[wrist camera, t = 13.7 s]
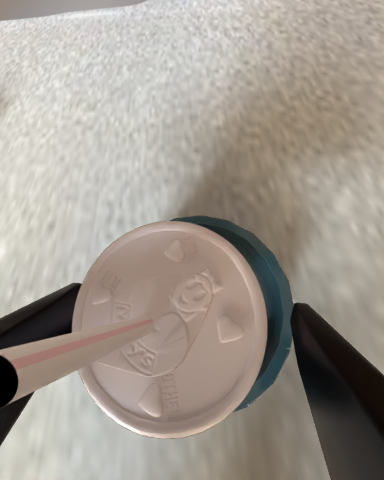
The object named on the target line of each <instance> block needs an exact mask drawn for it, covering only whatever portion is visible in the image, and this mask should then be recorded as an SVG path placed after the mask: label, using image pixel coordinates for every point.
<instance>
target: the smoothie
mask: <svg viewBox="0 0 384 480" xmlns="http://www.w3.org/2000/svg"><path fill="white" fill-rule="evenodd" d="M266 341H267V314H266V307H265V302H264V298H263V294H262V291H261V288H260V285H259V283H258V280H257V278H256V276H255V274H254V272H253V271H252V269H251V267H250V266H249V264H248V263H247V261H246V260H245V258H244V257H243V256H242V255H241V254H240V252H239V251H238V250H237V249H236V248H235V247H234V246H233V245H232V244H231V243H229V242H228V241H227V240H226V239H224V238H223V237H221V236H220V235H218V234H217V233H215V232H213V231H211V230H209V229H207V228H204V227H202V226H199V225H196V224H192V223H187V222H179V221H164V222H156V223H151V224H147V225H144V226H141V227H139V228H136V229H134V230H132V231H130V232H128V233H126V234H124V235H123V236H121V237H120V238H118V239H117V240H116V241H114V242H113V243H112V244H111V245H110V246H109V247H107V248H106V249H105V250H104V251H103V253H102V254H101V255H100V256H99V257H98V258H97V260H96V261H95V262H94V264H93V265H92V267H91V268H90V270H89V271H88V273H87V275H86V277H85V278H84V281H83V283H82V285H81V287H80V290H79V293H78V296H77V299H76V303H75V308H74V313H73V321H72V333H70V334H65V335H61V336H57V337H53V338H48V339H44V340H40V341H36V342H31V343H27V344H23V345H19V346H14V347H10V348H6V349H2V350H0V408H1V407H3V406H5V405H7V404H10V403H12V402H14V401H16V400H18V399H20V398H22V397H24V396H26V395H28V394H30V393H32V392H34V391H36V390H38V389H40V388H42V387H44V386H46V385H48V384H50V383H52V382H54V381H56V380H58V379H60V378H62V377H64V376H66V375H68V374H70V373H72V372H74V371H76V370H78V371H79V374H80V377H81V379H82V381H83V384H84V385H85V387H86V389H87V391H88V393H89V394H90V396H91V397H92V399H93V400H94V401H95V403H96V404H97V405H98V406H99V407H100V409H101V410H102V411H103V412H104V413H105V414H107V415H108V416H109V417H110V418H111V419H112V420H114V421H115V422H116V423H118V424H119V425H121V426H123V427H124V428H126V429H128V430H130V431H133V432H135V433H137V434H140V435H144V436H147V437H152V438H159V439H175V438H183V437H188V436H192V435H195V434H198V433H201V432H203V431H205V430H207V429H209V428H211V427H213V426H215V425H216V424H218V423H219V422H221V421H222V420H224V419H225V418H226V417H227V416H228V415H230V414H231V413H232V412H233V411H234V410H235V409H236V408H237V407H238V406H239V405H240V403H241V402H242V401H243V399H244V398H245V397H246V395H247V394H248V392H249V391H250V389H251V387H252V386H253V384H254V382H255V380H256V378H257V375H258V373H259V371H260V368H261V365H262V362H263V358H264V353H265V349H266Z"/></svg>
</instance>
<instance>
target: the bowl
mask: <svg viewBox="0 0 384 480" xmlns="http://www.w3.org/2000/svg"><path fill="white" fill-rule="evenodd" d="M170 221H179V222H187V223H192V224H196V225H199V226H202V227H204V228H207V229H209V230H211V231H213V232H215V233H217V234H218V235H220V236H221V237H223V238H224V239H226V240H227V241H228V242H229V243H231V244H232V245H233V246H234V247H235V248H236V249H237V250H238V251H239V252H240V254H241V255H242V256H243V257H244V258H245V260H246V261H247V263H248V264H249V266H250V267H251V269H252V271H253V272H254V274H255V276H256V278H257V280H258V283H259V285H260V288H261V291H262V294H263V298H264V302H265V307H266V314H267V341H266V349H265V353H264V358H263V362H262V365H261V368H260V371H259V373H258V375H257V378H256V380H255V382H254V384H253V386H252V387H251V389H250V391H249V392H248V394H247V395H246V397H245V398H244V399H243V401H242V402H241V403H240V405H239V406H238V407H237V408H236V409H235V410H234V411H233V412H235V411H238V410H240V409H243V408H246V407H248V405H250V404H251V403H252V402H253V401H255V400H256V399H257V398H258V397H259V396H260V395H261V394H262V393H263V392H264V391H265V390H267V389H268V388H269V387H270V386H271V385H272V384H273V383H274V381H275V380H276V378H277V376H278V374H279V372H280V370H281V368H282V366H283V364H284V362H285V360H286V358H287V356H288V354H289V352H290V349H291V344H292V330H291V325H290V317H291V313H292V310H293V302H292V296H291V291H290V286H289V283H288V280H287V278H286V276H285V274H284V272H283V270H282V268H281V267H280V265H279V263H278V261H277V259H276V257H275V256H274V254H273V253H272V252H271V251H270V250H269V249H268V248H267V247H266V246H265V245H264V244H263V243H262V242H261V241H260V240H259V239H258V238H257V237H256V236H255V235H254V234H253V233H251V232H249V231H247V230H245V229H243V228H242V227H240V226H238V225H236V224H234V223H232V222H230V221H227V220H224V219H218V218H213V217H207V216H191V217H183V218H176V219H173V220H170Z"/></svg>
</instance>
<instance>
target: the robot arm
mask: <svg viewBox="0 0 384 480" xmlns="http://www.w3.org/2000/svg"><path fill="white" fill-rule="evenodd" d="M81 285H82V284H81V283H72V284H70V285H68V286H66V287H64V288H62V289H59V290H57V291H55V292H53V293H51V294H49V295H47V296H45V297H43V298H41V299H39V300H37V301H35V302H33V303H31V304H29V305H27V306H25V307H23V308H21V309H19V310H17V311H15V312H13V313H11V314H8V315H6V316H4V317H2V318H0V350H2V349H6V348H10V347H14V346H19V345H23V344H27V343H31V342H36V341H40V340H44V339H48V338H53V337H57V336H61V335H65V334H70V333H72V321H73V313H74V308H75V303H76V299H77V296H78V293H79V290H80V287H81ZM290 325H291V330H292V336H293V341H294V347H295V353H296V358H297V363H298V368H299V372H300V375H301V379H302V382H303V386H304V389H305V392H306V396H307V399H308V403H309V406H310V410H311V413H312V417H313V420H314V423H315V427H316V430H317V434H318V437H319V441H320V444H321V448H322V451H323V454H324V458H325V461H326V465H327V468H328V472H329V475H330V479H331V480H384V375H383V374H382V373H381V372H380V371H379V370H378V369H377V368H376V367H374V366H373V365H372V364H371V363H370V362H369V361H368V360H367V359H366V358H365V357H364V356H363V355H362V354H361V353H359V352H358V351H357V350H356V349H355V348H354V347H353V346H352V345H351V344H350V343H349V342H348V341H347V340H346V339H344V338H343V337H342V336H341V335H340V334H339V333H338V332H337V331H336V330H335V329H334V328H333V327H332V326H331V325H330V324H328V323H327V322H326V321H325V320H324V319H323V318H322V317H321V316H320V315H319V314H318V313H317V312H316V311H315V310H313V309H312V308H311V307H310V306H309V305H308V304H305V303H295V304H294V306H293V310H292V313H291V317H290ZM34 392H35V391H34ZM34 392H32V393H30V394H28V395H26V396H24V397H22V398H20V399H18V400H16V401H14V402H12V403H10V404H7V405H5V406H3V407H1V408H0V446H1V444H2V442H3V441H4V439H5V438H6V436H7V435H8V433H9V431H10V430H11V428H12V427H13V425H14V423H15V422H16V420H17V419H18V417H19V416H20V414H21V412H22V411H23V409H24V408H25V406H26V405H27V403H28V401H29V400H30V398H31V397H32V395H33V393H34Z"/></svg>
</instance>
